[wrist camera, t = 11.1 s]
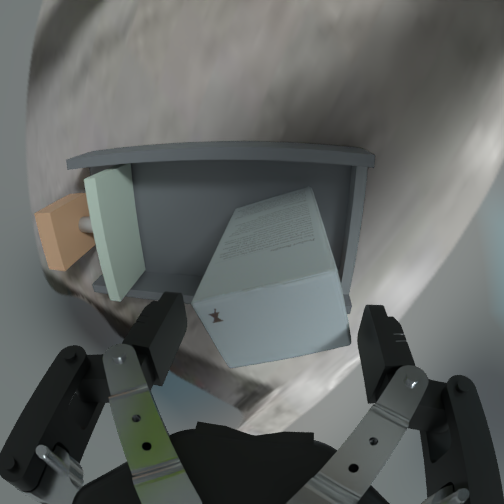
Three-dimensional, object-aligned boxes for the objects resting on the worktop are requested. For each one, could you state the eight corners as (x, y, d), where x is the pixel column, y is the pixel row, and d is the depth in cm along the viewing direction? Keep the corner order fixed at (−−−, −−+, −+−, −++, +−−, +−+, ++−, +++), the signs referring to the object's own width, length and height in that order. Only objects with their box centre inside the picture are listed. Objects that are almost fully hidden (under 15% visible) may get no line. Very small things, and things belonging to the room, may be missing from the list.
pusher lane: (361, 148, 20) (375, 155, 17) (343, 288, 25) (349, 313, 22) (91, 151, 22) (66, 159, 19) (112, 272, 27) (94, 291, 24)
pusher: (130, 162, 21) (94, 178, 17) (145, 269, 26) (120, 302, 21) (67, 169, 22) (28, 185, 18) (86, 264, 26) (57, 291, 22)
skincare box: (253, 256, 24) (225, 371, 13) (234, 207, 22) (185, 302, 12) (327, 236, 23) (354, 348, 12) (312, 184, 21) (336, 266, 10)
